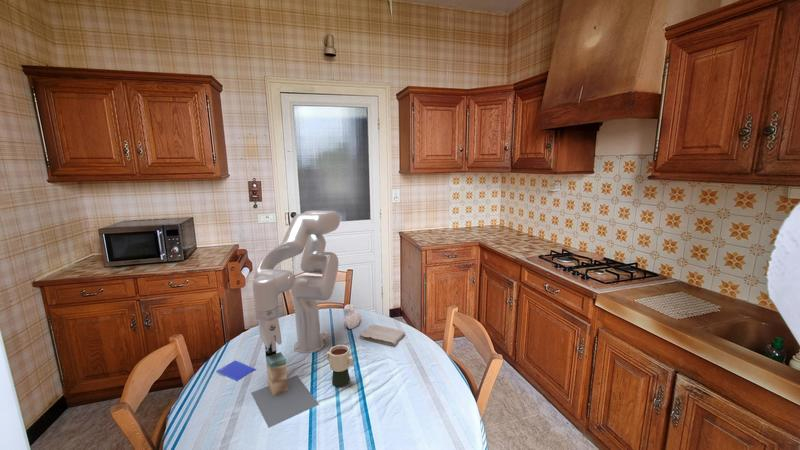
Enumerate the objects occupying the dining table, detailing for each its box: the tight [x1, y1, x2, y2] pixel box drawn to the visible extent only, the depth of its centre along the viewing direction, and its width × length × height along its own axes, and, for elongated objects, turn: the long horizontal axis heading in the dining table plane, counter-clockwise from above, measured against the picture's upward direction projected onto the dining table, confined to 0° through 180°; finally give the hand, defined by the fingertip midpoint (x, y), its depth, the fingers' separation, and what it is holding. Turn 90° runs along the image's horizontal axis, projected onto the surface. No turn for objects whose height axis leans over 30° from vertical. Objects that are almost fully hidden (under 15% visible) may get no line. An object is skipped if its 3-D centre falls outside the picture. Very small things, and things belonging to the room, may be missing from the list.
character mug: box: [326, 344, 354, 388], centre depth 121 cm, size 11×7×13 cm, turn 67°
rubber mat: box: [250, 374, 320, 429], centre depth 114 cm, size 16×20×1 cm
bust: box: [343, 303, 362, 330], centre depth 165 cm, size 12×8×11 cm
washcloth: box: [359, 324, 406, 348], centre depth 154 cm, size 12×18×3 cm, turn 65°
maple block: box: [265, 351, 288, 396], centre depth 117 cm, size 5×5×12 cm
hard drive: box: [215, 360, 257, 382], centre depth 130 cm, size 2×8×12 cm
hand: (271, 360), depth 121 cm, fingers closed
